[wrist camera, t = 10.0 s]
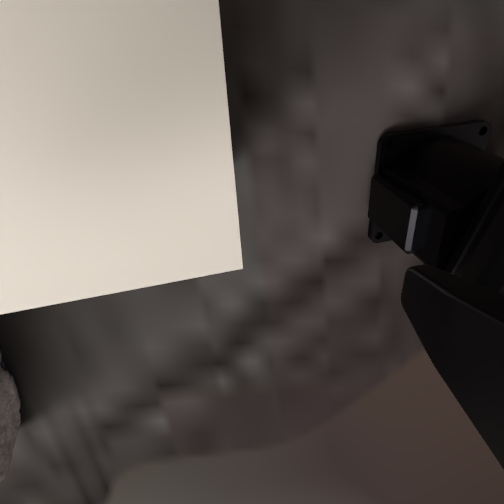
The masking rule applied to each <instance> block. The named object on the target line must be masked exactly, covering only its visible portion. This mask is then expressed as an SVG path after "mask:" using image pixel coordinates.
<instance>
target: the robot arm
mask: <svg viewBox="0 0 504 504" xmlns="http://www.w3.org/2000/svg"><path fill="white" fill-rule="evenodd" d="M481 128H482V130H481V131H480V132H479V130H480V129H481ZM490 132H491V124H490V123H489V122H487V121H484V120H475V121H468V122H461V123H454V124H447V125H440V126H433V127H426V128H419V129H412V130H405V131H398V132H391V133H386V134H384V135H382V136H381V137H380V139H379V141H378V145H377V154H376V163H375V173H374V175H373V177H372V180H371V190H370V200H369V210H368V217H369V218H370V220H369V229H368V237H369V238H370V239H371V240H372V241H373V242H374V243H380V242H385V241H391V240H393V241H394V242H395V243H396V244H397V245H398V246H399V247H400V248H401V249H402V250H403V251H404V252H406V253H407V254H411V253H413V254H414V255H415V256H417V257H418V258H419V259H420V260H421V261H422V262H423V263H424V264H423V265H418V266H412V267H409V268H408V269H407V271H406V273H405V278H404V283H403V288H402V293H401V303H402V306H403V308H404V310H405V312H406V314H407V316H408V318H409V320H410V322H411V324H412V325H413V327H414V329H415V331H416V333H417V335H418V337H419V339H420V341H421V343H422V344H423V346H424V348H425V350H426V352H427V354H428V356H429V357H430V359H431V361H432V363H433V364H434V366H435V368H436V369H437V371H438V372H439V374H440V375H441V377H442V378H443V380H444V381H445V383H446V384H447V386H448V387H449V389H450V390H451V392H452V393H453V395H454V396H455V398H456V399H457V401H458V402H459V404H460V405H461V407H462V408H463V410H464V411H465V413H466V414H467V416H468V417H469V418H470V420H471V422H472V423H473V425H474V426H475V428H476V429H477V431H478V432H479V434H480V435H481V437H482V438H483V440H484V441H485V443H486V444H487V446H488V447H489V449H490V450H491V451H492V453H493V455H494V456H495V457H496V459H497V461H498V462H499V463H500V465H501V467H502V468H503V469H504V159H503V158H501V157H499V156H497V155H494V154H492V153H490V152H488V151H486V148H487V144H488V140H489V136H490ZM389 140H391V143H390V145H389V146H388V147H386V143H387V142H388V141H389ZM378 232H379V234H378V235H377V236H375V235H376V234H377V233H378Z"/></svg>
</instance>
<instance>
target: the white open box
mask: <svg viewBox="0 0 504 504" xmlns="http://www.w3.org/2000/svg"><path fill="white" fill-rule="evenodd" d="M238 269H243V264H242V253H241V242H240V231H239V220H238V209H237V198H236V187H235V176H234V166H233V155H232V144H231V133H230V122H229V111H228V100H227V89H226V78H225V67H224V56H223V45H222V34H221V23H220V12H219V1H218V0H0V315H1V314H6V313H12V312H17V311H22V310H27V309H33V308H38V307H43V306H48V305H54V304H59V303H64V302H70V301H75V300H80V299H85V298H91V297H96V296H101V295H107V294H112V293H117V292H122V291H128V290H133V289H138V288H143V287H149V286H154V285H159V284H165V283H170V282H175V281H180V280H186V279H191V278H196V277H201V276H207V275H212V274H217V273H223V272H228V271H233V270H238Z"/></svg>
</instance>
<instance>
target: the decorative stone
mask: <svg viewBox="0 0 504 504" xmlns="http://www.w3.org/2000/svg"><path fill="white" fill-rule="evenodd" d="M20 407H21V402H20V395H19V393H18V391H17V387H16V382H15V381H14V377H13V376H12V375H11V373H10V372H9V370H8V369H7V368H6V366H5V365H4V363H3V362H2V351H1V349H0V482H1V480H3V479H4V478H5V475H6V473H7V471H8V469H9V464H10V462H11V459H12V451H13V447H14V444H15V440H16V436H17V433H18V428H19V425H20V423H21V418H20V412H19V410H20Z"/></svg>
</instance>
